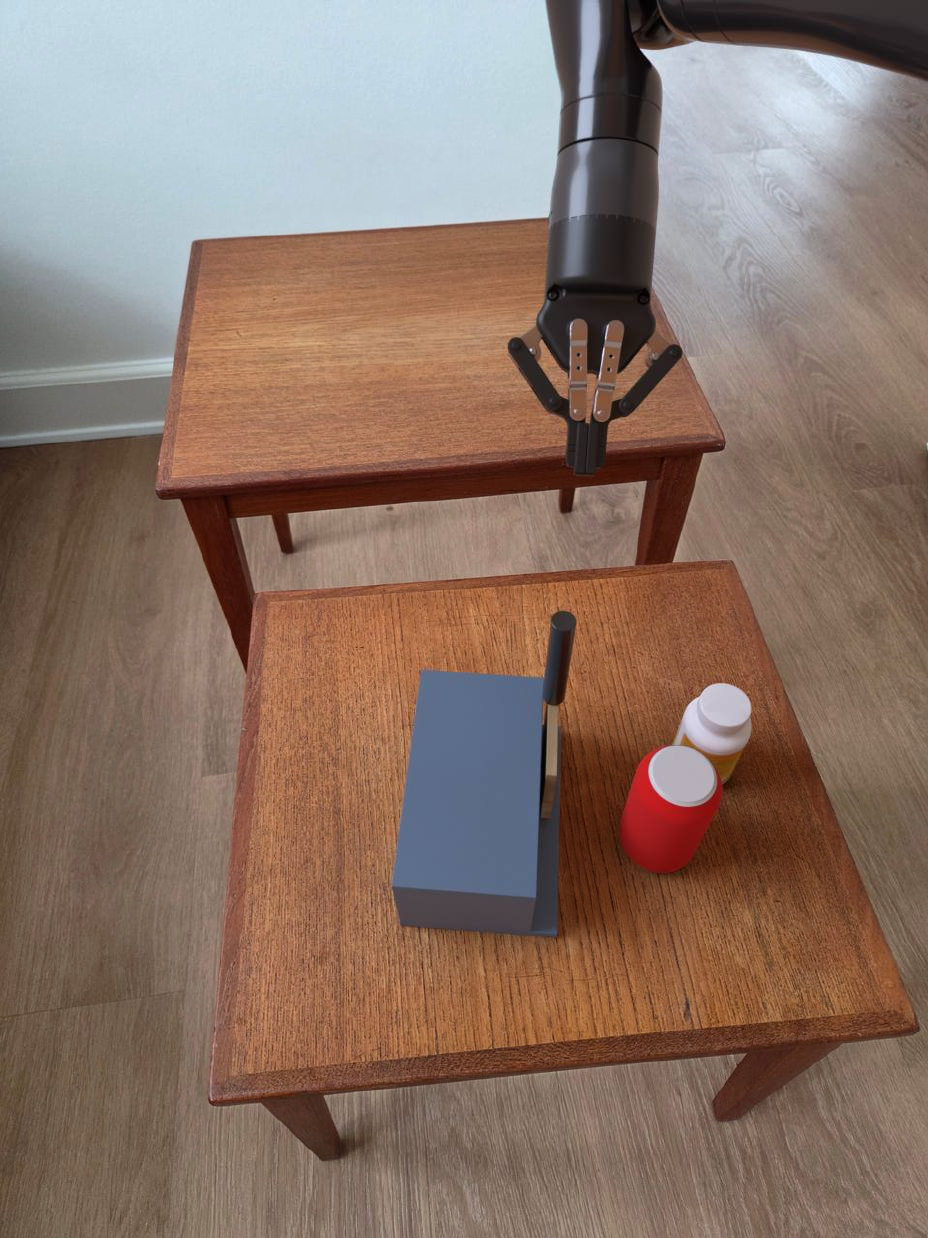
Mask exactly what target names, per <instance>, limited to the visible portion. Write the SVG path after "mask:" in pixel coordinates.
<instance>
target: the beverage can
mask: <svg viewBox="0 0 928 1238" xmlns="http://www.w3.org/2000/svg"><path fill="white" fill-rule="evenodd" d="M722 799H723V784H722V782H721V778H720V775H719V773H718V771H717V769H716V768H715V766H714V765H713V763H712V762H711V761H710V760H709V759H708V758H707V757H706V756H705V755H704V754H702V753H701V752H699V751H698V750H696V749H694V748H691V747H688V746H683V745H672V744H669V745H664V746H663V745H662V746H660V747H658V748H657V747H656V748H655V749H653V750H651V751H649V752H648V753H647V754H646V755H645V756H644V757H643V758H642V759H641V761H640V762H639V764H638V766H637V768H636V770H635V774H634V777H633V780H632V783H631V787H630V789H629V793H628V796H627V799H626V802H625V805H624V809H623V812H622V815H621V818H620V820H619V826H618V837H619V838H618V839H619V841H620V845H621V846H622V849H623V851H624V852H625V854H626V856H627V857H628V858H629V859H630V860H631V861H632V862H633V863H634V864H636V865H637V866H638V867H640V868H641V869H643V870H645V871H648V872H651V873H655V874H670V873H674V872H677V871H679V870H681V869H682V868H684V867H685V866H686V865H687V864H688V863H690V862H691V860H692V859H693V857H694V855H695V854H696V852H697V850H698V848H699V846H700V844H701V842H702V840H703V838H704V836H705V834H706V832H707V831H708V828H709V827H710V825H711V823H712V821H713V819H714V817H715V816H716V813H717V811H718V810H719V808H720V806H721V803H722Z"/></svg>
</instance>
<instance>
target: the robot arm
mask: <svg viewBox="0 0 928 1238" xmlns="http://www.w3.org/2000/svg"><path fill="white" fill-rule="evenodd" d="M544 4H545V10H546V18H547V22H548V30H549V36H550V42H551V50H552V55H553V62H554V68H555V71H556V76H557V81H558V86H559V92H560V108H559V110H560V111H559V123H558V139H557V153H556V164H555V170H554V175H553V180H552V186H551V192H550V205H549V214H548V218H547V220H548V221H547V222H548V234H547V235H548V237H547V249H546V251H547V252H546V267H545V284H544V297H543V298H544V299H543V303H542V306H541V308H540V309H539V311H538V313H537V315H536V319H535V325H534V326H532V328H530V329H529V330H528V331H526V332H525V333H523V334H522V335H521V336H519V337H518V336H514V337H511V338H510V339H509V340H508V342H507V354H508V357H509V359H510V360H511V362H513V364H514V365H515V367H516V369H517V370H518V372H519V373H520V374H521V376H522V378H523V379H524V380H525V382H526V383H527V385H528V386H529V387H530V389H531V391H532V393H534V395H535V397H536V398H537V399H538V401H539V403H540V404H541V405H542V407H543V408H544V410H545V411H546V412H547V413H548V414H551V415H555V416H557V417H559V418H561V419H563V420H564V422H565V423H566V426H567V427H566V428H567V430H566V444H565V456H564V457H565V459H564V460H565V464H566V467H567V468H573V476H577V477H579V476H580V477H583V476H584V477H595V476H596V469H602V468H603V466H604V465H605V462H606V458H607V457H606V456H607V444H608V433H609V432H608V429H609V425H610V423H611V422H612V421H614V420H617V419H622V418H628V417H629V416H630V415H631V414H632V413H634V412H635V411H636V409H637V408H638V407H639V406H640V405H641V404H642V403H643V402H644V401H645V399H647V397H648V396H649V395H650V394H651V392H653V390H654V389H655V388H656V387H657V385H659V383H661V381H662V380H664V378H665V377H666V376H667V374H669V372H671V370H672V369H673V367H675V366H676V364H677V363H678V362H679V361H680V360H681V358H682V357H683V349H682V347H681V346H680V345H679V344H676V343H670V342H669V341H668V340H667V339H666V338H665V337H663V336H662V335H661V334H660V333H659V332H658V331H657V330H656V328H657V319H656V317H655V314H654V312H653V310H652V305H651V304H652V303H651V301H652V300H651V299H652V288H653V287H652V286H653V275H654V262H655V251H656V250H655V249H656V237H657V225H658V214H659V203H660V202H659V200H660V181H659V180H660V179H659V154H660V143H661V131H662V130H661V128H662V115H663V103H664V102H663V96H664V95H663V94H664V93H663V81H662V77H661V75H660V72H659V71H658V69H657V67H656V66H655V65H654V64H653V63H652V62H651V60H650V59H649V58H648V57H647V56H646V55H645V53H644V52H643V51H642V50H645V51H646V50H647V51H662V50H667V49H672V48H676V47H681V46H686V45H690V44H692V43H695V42H699V43H706V44H713V45H714V44H715V45H716V44H717V45H727V46H738V47H753V48H754V47H755V48H756V47H757V48H768V49H779V50H790V51H799V52H806V53H811V54H812V53H813V54H817V55H823V56H829V57H833V58H839V59H842V60H847V61H851V62H855V63H859V64H862V65H866V66H870V67H874V68H878V69H881V70H885V71H889V72H891V73H895V74H899V75H902V76H906V77H909V78H912V79H915V80H917V81H921V82H924V83H927V84H928V0H544ZM541 341H542V342H543V343H544V345H545V347H546V349H548V351H549V353H550V354H551V356H552V358H553V359H554V361H555V362H556V365H557V366H558V367H559V369H561V370H562V371H563V372H565V373H566V375H567V376H566V377H567V381H566V384H567V398H566V397H563V396H561V395H560V394H559V392H558V391H557V389H556V388H555V386H554V385H553V383H552V382H551V380H550V379H549V377H548V376H547V374H546V373H545V371H544V370H543V368H542V367H541V365H540V364H539V361H540V360H541V358H542V349H541V347H540V343H541ZM644 346H646V347H647V352H646V354H645V355H644V358H643V364H644V365H645V366H646V368H647V369H646V371H645V372H644V373H643V374H642V375H641V376H640V377H639V379H638V380H637V381H636V382H635V383H634V384H633V385H632V386H631V387H630V389H629V390H628V391H627V392H626V393H625V394H624V395H623V397H622V398H619V399H616V400H613V399H614V392H615V388H616V383H617V376H618V375H619V374H621V373H622V372H623V371H625V370H626V368H627V367H628V366H629V365H630V363H631V362H633V360H634V359H635V357H636V356H637V355H638V354H639V352H640V351H641V350H642V349H643V347H644ZM589 374H590V375H593V376H594V375H595V380H594V381H595V382H594V388H593V389H594V390H593V398H592V403H591V411H590V417H589V422H586V419H587V411H588V410H587V408H588V405H587V404H588V403H587V402H588V401H587V399H588V398H587V397H588V396H587V393H588V390H587V388H588V375H589Z"/></svg>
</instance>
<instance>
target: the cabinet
mask: <svg viewBox="0 0 928 1238" xmlns="http://www.w3.org/2000/svg"><path fill="white" fill-rule="evenodd" d="M543 684H544V677H540V676H525V675H511V674H494V673H493V674H492V673H481V672H480V673H479V672H465V671H461V672H460V671H445V670H433V669H432V670H431V669H421V670H420V678H419V683H418V689H417V697H416V704H415V712H414V713H415V714H414V719H413V725H412V726H413V727H412V732H411V733H412V734H411V741H410V742H411V743H410V749H409V750H410V751H409V755H408V762H407V764H408V765H407V770H406V777H405V783H404V784H405V785H404V792H403V799H402V804H401V805H402V807H401V813H400V821H399V826H398V835H397V841H396V842H397V843H396V850H395V857H394V865H393V872H392V878H391V885H390V886H391V890H392V893H393V898H394V903H395V907H396V911H397V916H398V920H399V925H400V926H402V927H415V928H428V929H429V928H430V929H439V930H449V931H450V930H451V931H462V932H463V931H464V932H476V933H487V934H488V933H489V934H500V935H513V936H523V937H535V938H536V937H537V938H547V939H557V937H558V929H559V928H558V925H559V924H558V923H559V922H558V921H559V920H558V918H559V917H558V916H559V873H560V872H559V869H560V868H559V867H560V860H559V859H560V821H561V819H560V813H561V763H562V760H561V757H562V754H561V753H562V726H561V725H558V749H557V778H556V784H555V790H554V796H553V803H552V809H551V815H550V818H540V808H541V778H542V747H543V725H544V724H543V717H544V716H543V714H544V712H543V711H544V700H543V697H542V693H543Z"/></svg>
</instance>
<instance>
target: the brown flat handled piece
mask: <svg viewBox="0 0 928 1238" xmlns="http://www.w3.org/2000/svg"><path fill="white" fill-rule="evenodd" d="M577 621H578V620H577V618H576V616H575V615H574V614H573V613H572V612H571V611H568V610H558V611H556V612H555V613H553V614H552V615H551V617H550V623H549V631H548V632H549V633H548V641H547V649H546V659H545V669H544V676H543V678H544V684H543V693H542V697H543V702H545V709H544V716H543V717H544V718H543V724H542V725H543V747H542V778H541V808H540V818H550V815H551V809H552V803H553V796H554V790H555V784H556V778H557V749H558V726H559V705H562V704H563V702H564V701H565V699H566V694H567V689H568V688H567V687H568V680H569V675H570V667H571V661H572V655H573V648H574V641H575V635H576V630H577Z"/></svg>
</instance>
